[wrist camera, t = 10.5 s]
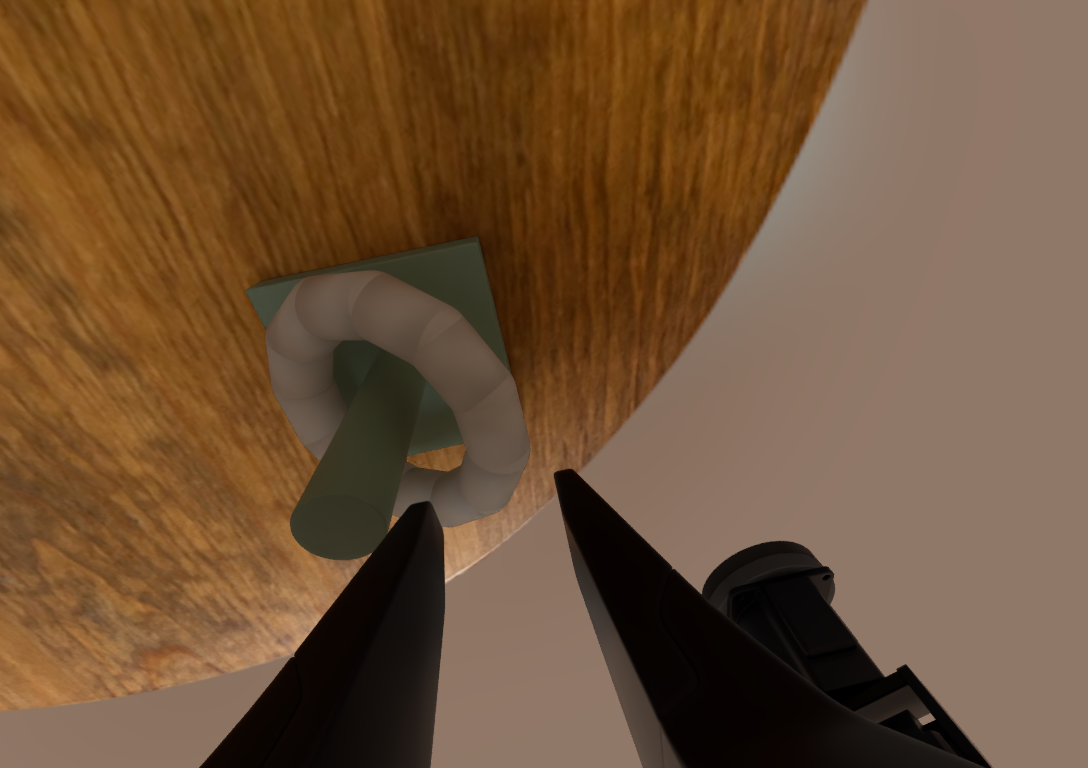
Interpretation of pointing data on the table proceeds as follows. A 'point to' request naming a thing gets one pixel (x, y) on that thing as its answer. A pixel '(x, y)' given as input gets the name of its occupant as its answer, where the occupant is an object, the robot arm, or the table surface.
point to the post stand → (383, 401)
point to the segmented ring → (434, 350)
